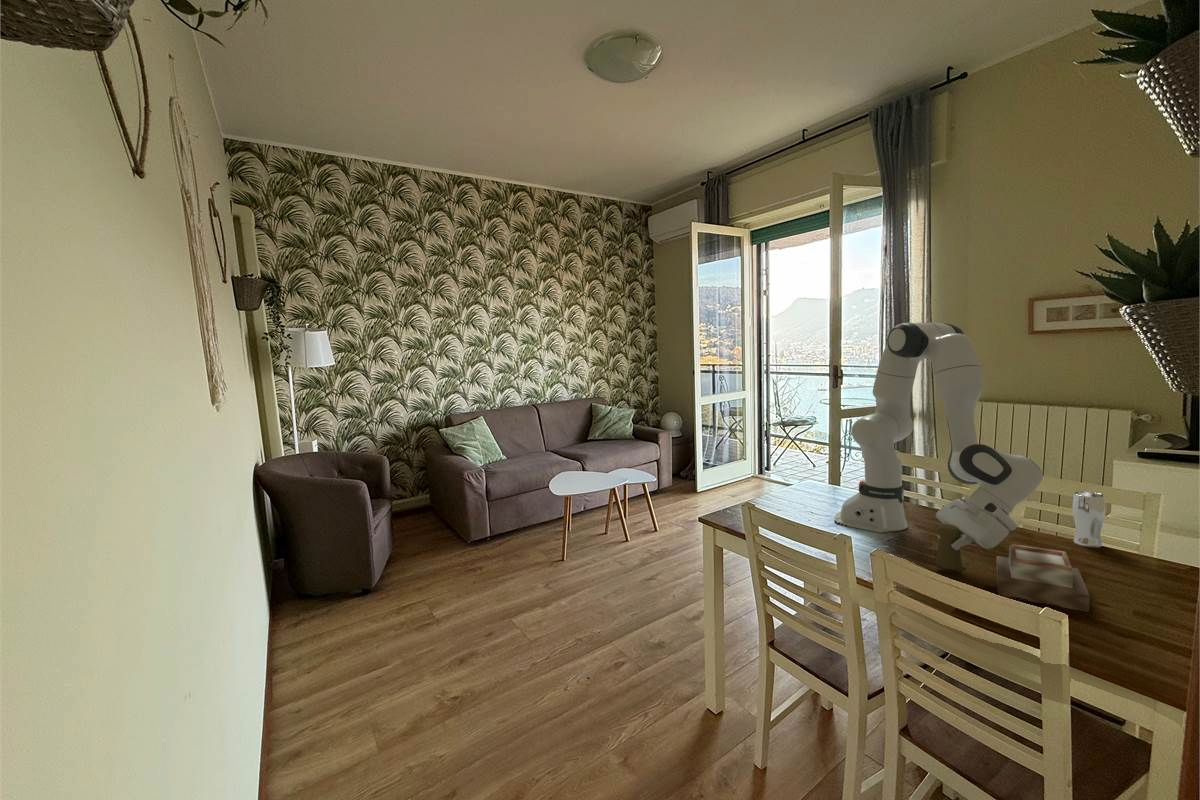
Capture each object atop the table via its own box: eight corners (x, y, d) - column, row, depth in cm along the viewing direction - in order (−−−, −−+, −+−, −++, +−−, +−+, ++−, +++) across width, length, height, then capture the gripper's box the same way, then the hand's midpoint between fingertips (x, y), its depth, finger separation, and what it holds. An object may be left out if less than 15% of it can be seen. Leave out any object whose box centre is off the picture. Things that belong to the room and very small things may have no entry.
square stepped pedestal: (998, 595, 122) (998, 560, 122) (996, 570, 135) (996, 538, 134) (1088, 612, 113) (1090, 574, 112) (1077, 583, 125) (1078, 549, 125)
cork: (967, 569, 132) (967, 529, 131) (941, 569, 133) (942, 529, 132) (955, 560, 138) (955, 521, 137) (931, 559, 139) (931, 521, 138)
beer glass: (1104, 542, 148) (1105, 493, 147) (1104, 550, 143) (1106, 499, 142) (1071, 537, 153) (1073, 489, 152) (1070, 544, 148) (1072, 495, 147)
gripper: (953, 488, 144) (916, 522, 145) (1004, 512, 123) (961, 551, 125) (969, 503, 144) (932, 536, 146) (1022, 529, 123) (979, 567, 125)
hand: (946, 543), depth 135 cm, fingers closed on cork, 4 cm apart
